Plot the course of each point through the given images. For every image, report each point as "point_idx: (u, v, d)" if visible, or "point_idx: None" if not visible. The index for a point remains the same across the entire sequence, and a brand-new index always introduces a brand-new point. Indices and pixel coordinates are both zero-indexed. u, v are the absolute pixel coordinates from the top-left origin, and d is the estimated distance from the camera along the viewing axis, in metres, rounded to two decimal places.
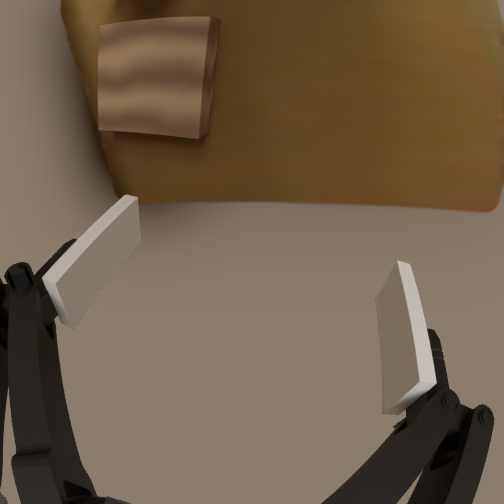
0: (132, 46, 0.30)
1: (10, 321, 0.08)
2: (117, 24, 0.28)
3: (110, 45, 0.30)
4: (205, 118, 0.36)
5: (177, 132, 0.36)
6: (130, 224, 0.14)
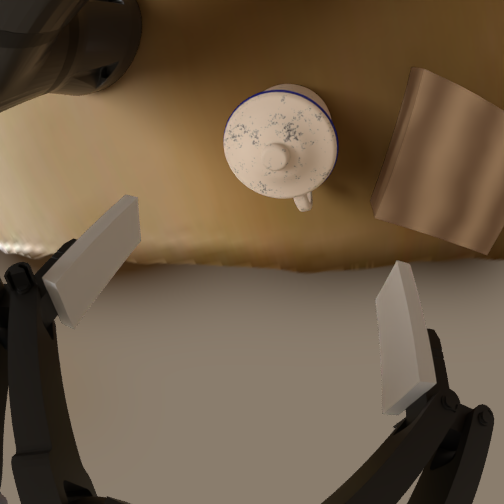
0: (427, 179, 0.25)
1: (10, 321, 0.08)
2: (387, 193, 0.27)
3: (410, 209, 0.28)
4: None
5: None
6: (130, 224, 0.14)
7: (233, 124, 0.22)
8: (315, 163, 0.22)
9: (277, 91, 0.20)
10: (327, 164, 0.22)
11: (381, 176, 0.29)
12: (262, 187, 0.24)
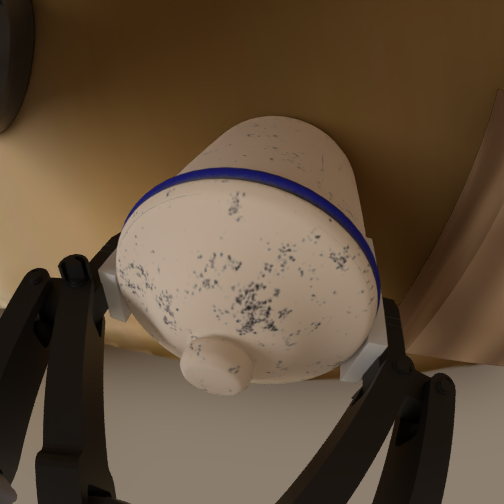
0: (500, 300, 0.13)
1: (58, 313, 0.08)
2: (433, 322, 0.15)
3: (462, 339, 0.15)
4: None
5: None
6: None
7: (123, 259, 0.09)
8: (319, 356, 0.09)
9: (221, 176, 0.07)
10: (347, 351, 0.09)
11: (424, 281, 0.17)
12: None
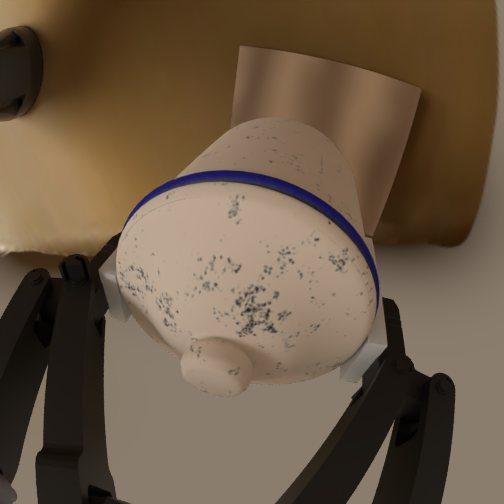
0: None
1: (58, 313, 0.08)
2: None
3: None
4: None
5: (408, 116, 0.22)
6: None
7: (123, 262, 0.09)
8: (319, 357, 0.09)
9: (220, 178, 0.07)
10: (346, 352, 0.09)
11: None
12: None
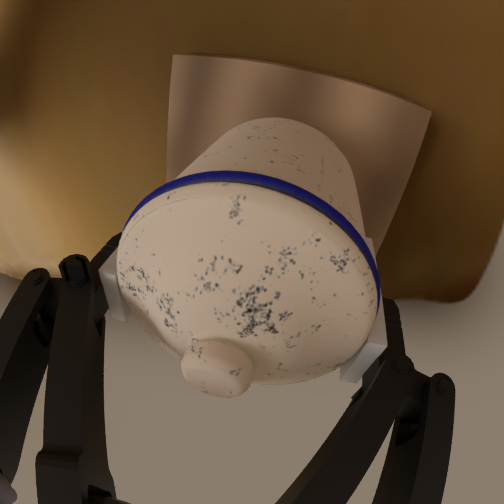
0: None
1: (58, 313, 0.08)
2: None
3: None
4: (390, 93, 0.16)
5: (410, 151, 0.16)
6: None
7: (124, 262, 0.09)
8: (319, 357, 0.09)
9: (221, 179, 0.07)
10: (347, 352, 0.09)
11: None
12: None
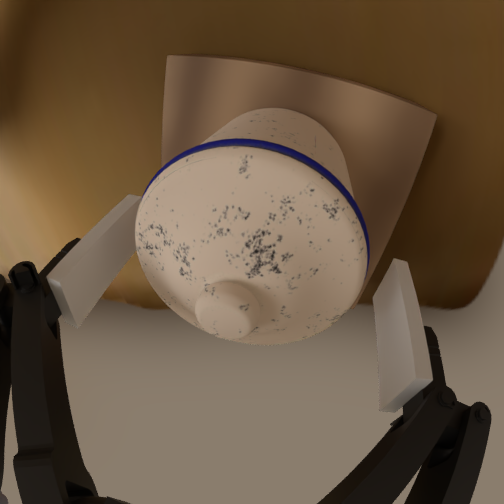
0: None
1: (14, 320, 0.08)
2: None
3: None
4: (393, 95, 0.15)
5: (414, 156, 0.15)
6: (134, 223, 0.14)
7: (144, 222, 0.10)
8: (318, 306, 0.10)
9: (232, 144, 0.09)
10: (343, 303, 0.11)
11: None
12: None
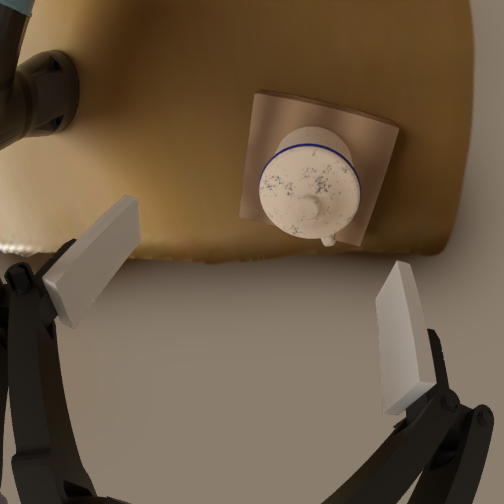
0: None
1: (10, 321, 0.08)
2: (243, 196, 0.37)
3: None
4: (376, 118, 0.30)
5: (387, 151, 0.30)
6: (130, 224, 0.14)
7: (268, 175, 0.25)
8: (341, 210, 0.25)
9: (308, 145, 0.23)
10: (351, 210, 0.25)
11: None
12: (294, 230, 0.27)
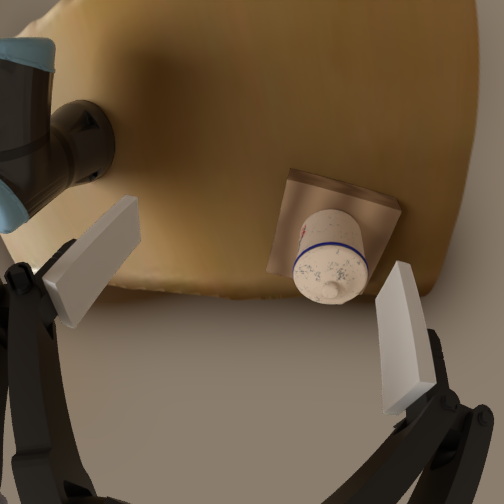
0: None
1: (10, 321, 0.08)
2: (271, 257, 0.46)
3: (289, 266, 0.47)
4: (384, 199, 0.39)
5: (390, 228, 0.39)
6: (130, 224, 0.14)
7: (302, 264, 0.34)
8: (353, 288, 0.34)
9: (333, 244, 0.32)
10: (360, 287, 0.34)
11: None
12: (317, 299, 0.36)
